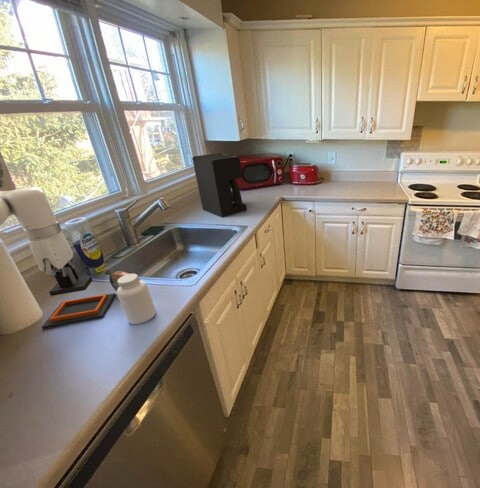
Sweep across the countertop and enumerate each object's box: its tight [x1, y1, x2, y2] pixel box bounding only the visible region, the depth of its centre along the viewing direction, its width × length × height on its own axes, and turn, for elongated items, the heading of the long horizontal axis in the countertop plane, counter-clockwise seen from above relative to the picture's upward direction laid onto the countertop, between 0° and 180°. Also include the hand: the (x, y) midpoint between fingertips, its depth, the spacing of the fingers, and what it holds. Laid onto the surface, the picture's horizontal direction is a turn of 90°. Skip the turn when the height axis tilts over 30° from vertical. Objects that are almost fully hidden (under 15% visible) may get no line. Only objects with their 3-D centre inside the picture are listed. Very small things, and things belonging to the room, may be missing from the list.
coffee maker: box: [191, 153, 248, 218], centre depth 180 cm, size 28×20×35 cm
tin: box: [108, 270, 130, 292], centre depth 101 cm, size 15×3×8 cm, turn 67°
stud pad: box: [48, 267, 93, 297], centre depth 89 cm, size 9×6×7 cm, turn 109°
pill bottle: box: [116, 273, 157, 325], centre depth 88 cm, size 8×8×15 cm
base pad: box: [41, 292, 117, 330], centre depth 94 cm, size 16×13×2 cm
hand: (70, 282), depth 89 cm, fingers closed on stud pad, 3 cm apart
